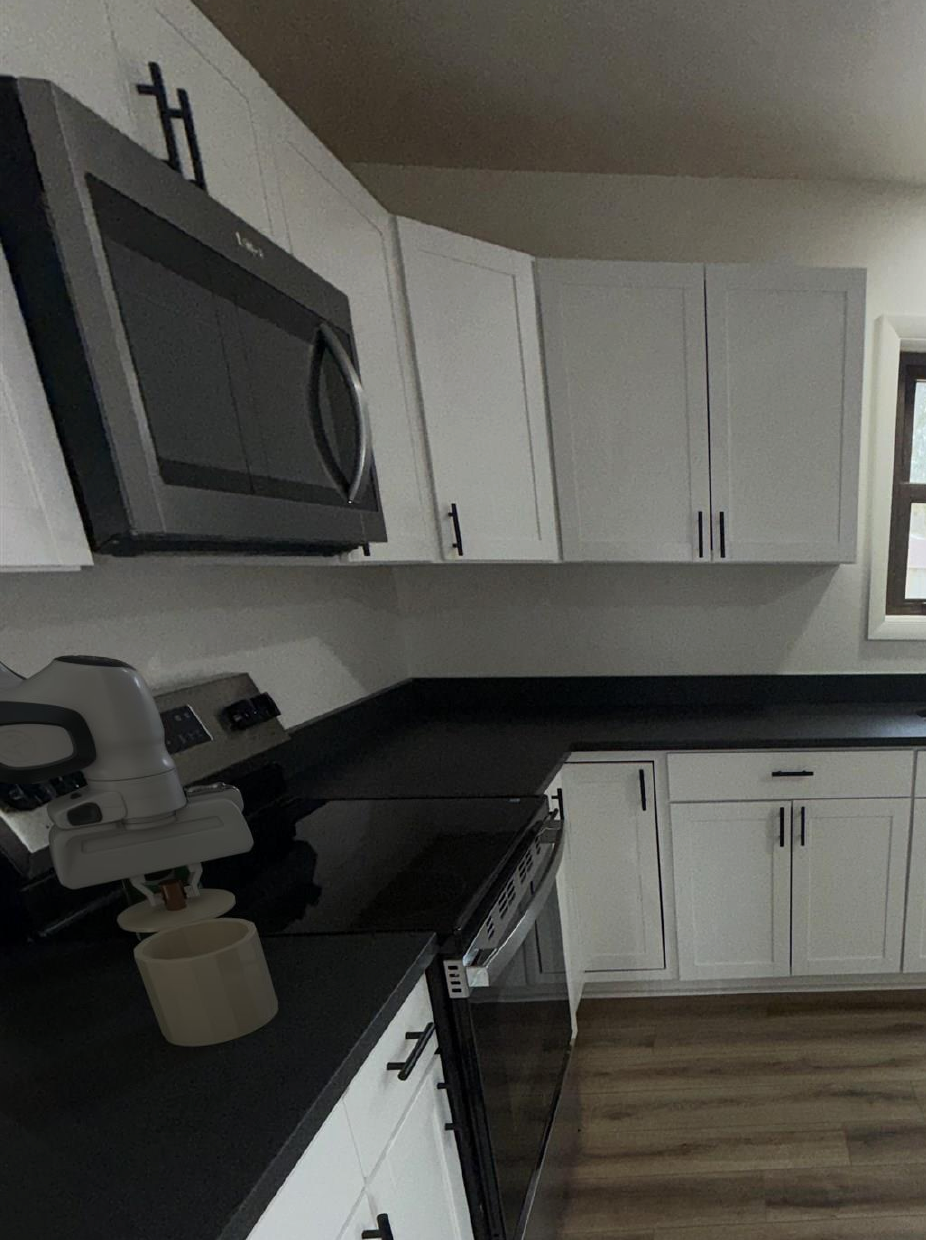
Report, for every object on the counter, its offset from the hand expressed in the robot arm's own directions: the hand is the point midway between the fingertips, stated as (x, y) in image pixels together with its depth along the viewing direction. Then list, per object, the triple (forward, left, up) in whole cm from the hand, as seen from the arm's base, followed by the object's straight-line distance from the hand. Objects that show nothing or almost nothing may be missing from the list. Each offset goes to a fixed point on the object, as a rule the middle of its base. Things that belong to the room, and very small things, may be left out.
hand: (175, 900), depth 106 cm
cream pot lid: (0, 0, -2) cm, 2 cm away
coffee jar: (+1, +15, -10) cm, 18 cm away
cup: (-1, -17, -10) cm, 20 cm away
